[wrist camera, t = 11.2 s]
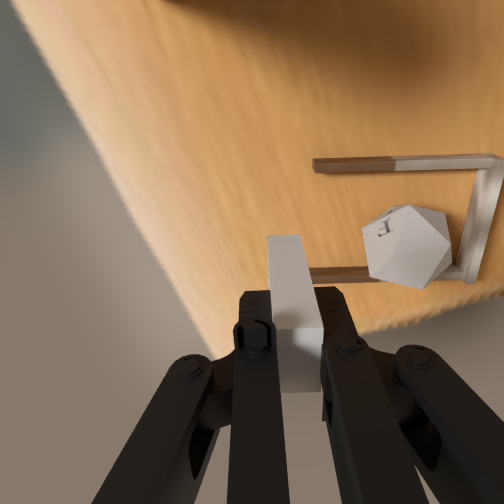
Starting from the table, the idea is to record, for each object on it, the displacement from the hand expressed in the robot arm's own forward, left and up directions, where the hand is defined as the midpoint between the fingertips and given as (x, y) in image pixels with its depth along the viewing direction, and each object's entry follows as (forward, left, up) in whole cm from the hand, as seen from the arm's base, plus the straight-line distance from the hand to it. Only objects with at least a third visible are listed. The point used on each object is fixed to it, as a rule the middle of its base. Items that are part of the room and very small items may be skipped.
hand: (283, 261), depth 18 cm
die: (+9, +15, -25) cm, 30 cm away
